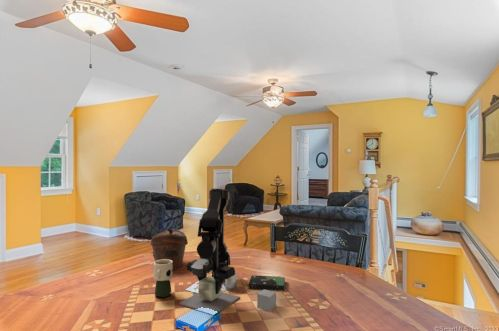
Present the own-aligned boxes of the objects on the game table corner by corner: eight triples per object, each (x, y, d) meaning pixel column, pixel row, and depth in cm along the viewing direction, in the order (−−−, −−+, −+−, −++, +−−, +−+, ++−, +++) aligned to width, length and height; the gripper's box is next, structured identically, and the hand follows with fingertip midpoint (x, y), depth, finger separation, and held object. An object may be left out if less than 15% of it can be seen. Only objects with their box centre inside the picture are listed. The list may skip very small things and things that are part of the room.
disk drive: (248, 290, 127) (285, 292, 126) (248, 284, 127) (285, 285, 126) (251, 281, 138) (285, 282, 136) (251, 275, 138) (285, 276, 136)
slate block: (257, 308, 111) (257, 294, 111) (263, 302, 115) (263, 289, 115) (269, 311, 108) (269, 297, 108) (276, 305, 112) (276, 292, 112)
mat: (178, 304, 113) (178, 303, 113) (206, 289, 127) (206, 288, 127) (214, 315, 105) (214, 313, 105) (239, 298, 119) (239, 296, 119)
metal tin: (222, 289, 127) (222, 274, 127) (229, 285, 131) (229, 271, 131) (232, 292, 124) (233, 277, 124) (239, 287, 129) (239, 273, 129)
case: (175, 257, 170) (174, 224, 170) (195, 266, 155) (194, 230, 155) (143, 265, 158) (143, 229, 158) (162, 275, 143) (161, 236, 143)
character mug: (166, 301, 115) (167, 266, 115) (148, 300, 116) (148, 266, 116) (176, 290, 126) (176, 258, 126) (159, 289, 127) (159, 257, 127)
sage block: (198, 297, 115) (198, 281, 115) (208, 291, 120) (208, 276, 120) (211, 301, 112) (211, 284, 112) (221, 295, 117) (221, 279, 117)
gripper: (176, 251, 114) (176, 294, 114) (217, 259, 104) (217, 306, 104) (196, 244, 123) (196, 284, 123) (235, 251, 114) (235, 294, 114)
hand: (210, 291), depth 116 cm, fingers closed on sage block, 6 cm apart
